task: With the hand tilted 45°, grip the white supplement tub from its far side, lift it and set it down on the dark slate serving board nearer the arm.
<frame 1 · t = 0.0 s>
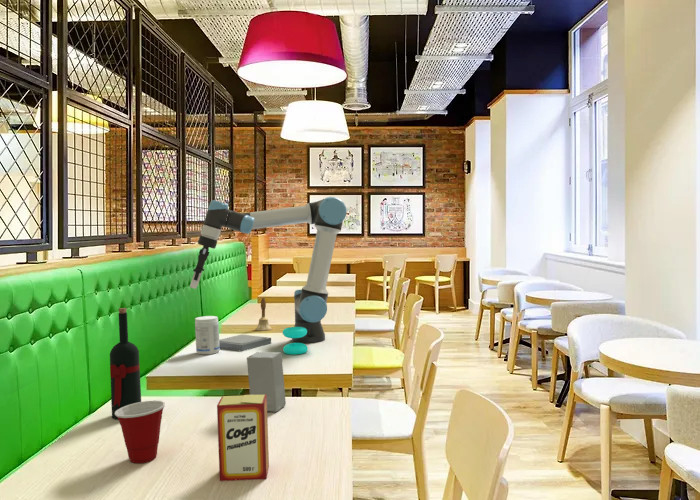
hand: (193, 286, 247), 28 cm above the table, tool tilted 20°, fingers open, 13 cm apart
slate board: (242, 345, 263), on the table
baking soda box: (245, 474, 126), on the table
donuts: (295, 353, 245), on the table
skincare box: (267, 409, 170), on the table
plastic cup: (142, 459, 135), on the table
supplement tub: (208, 353, 249), on the table
wine bottle: (125, 417, 166), on the table
hand bell: (263, 329, 303), on the table
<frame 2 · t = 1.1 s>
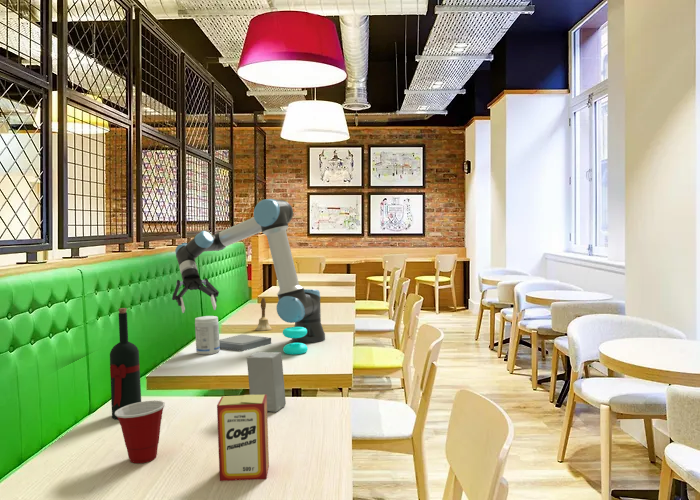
hand: (199, 309, 258), 17 cm above the table, tool tilted 45°, fingers open, 13 cm apart
nothing on the table moved.
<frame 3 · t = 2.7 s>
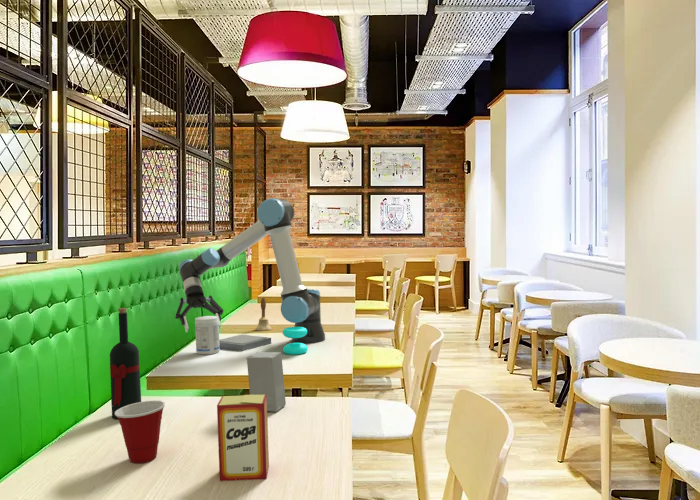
hand: (203, 328, 251), 10 cm above the table, tool tilted 45°, fingers open, 13 cm apart
nothing on the table moved.
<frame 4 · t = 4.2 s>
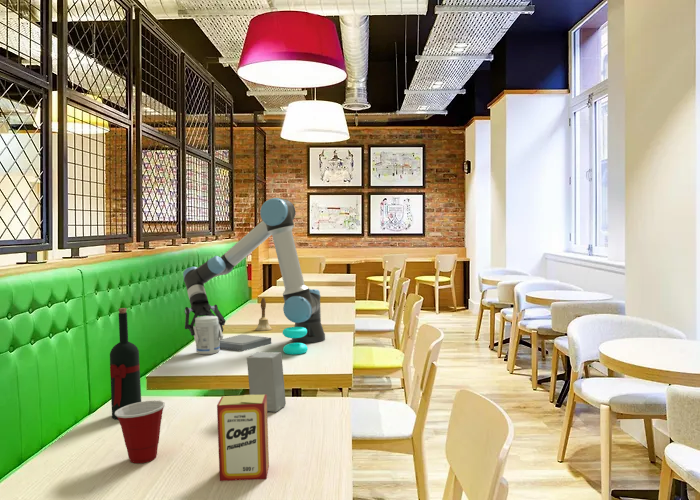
hand: (209, 339, 246), 6 cm above the table, tool tilted 45°, fingers closed on supplement tub, 9 cm apart
supplement tub: (208, 353, 249), on the table, touching gripper
everything else where it was.
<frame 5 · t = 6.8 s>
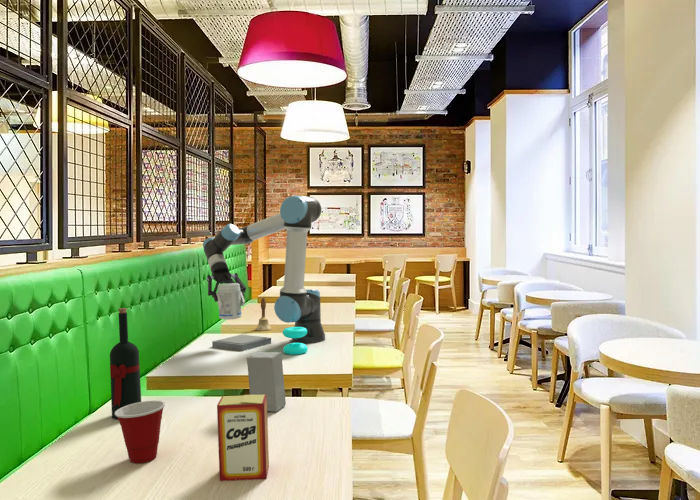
hand: (232, 305, 256), 19 cm above the table, tool tilted 45°, fingers closed on supplement tub, 9 cm apart
supplement tub: (230, 318, 259), point 12 cm above the table, touching gripper
everything else where it was.
when the fingers open (10 cm above the table, at t = 9.5 s): supplement tub drops 1 cm, resting on slate board.
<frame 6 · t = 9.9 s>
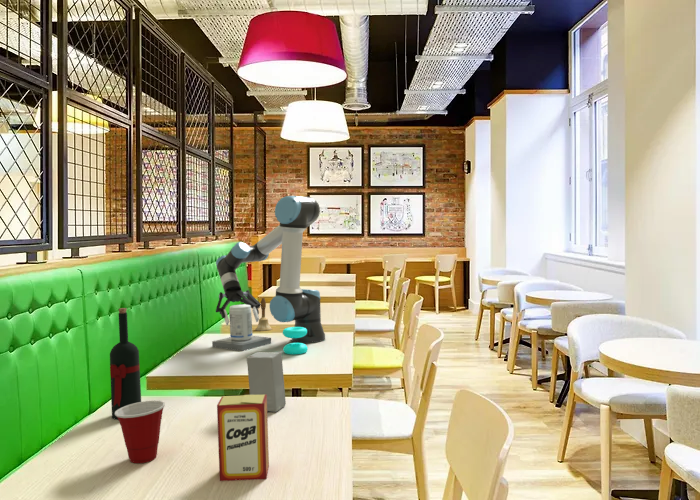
hand: (243, 321, 261), 11 cm above the table, tool tilted 45°, fingers open, 13 cm apart
supplement tub: (241, 339, 263), point 3 cm above the table, touching slate board
everything else where it was.
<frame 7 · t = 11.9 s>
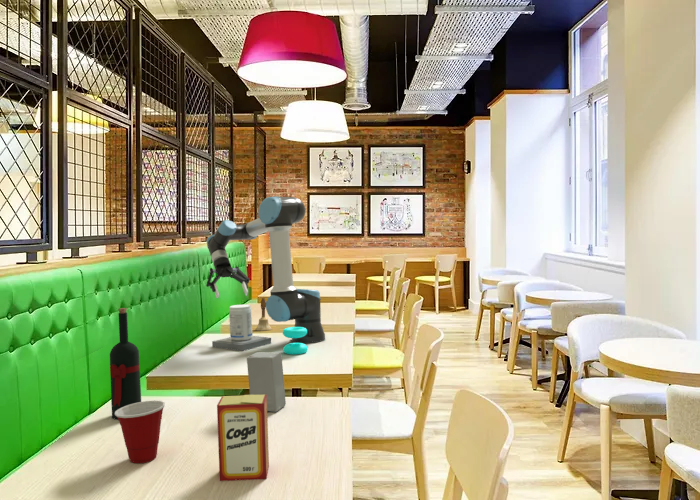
hand: (232, 295, 273), 21 cm above the table, tool tilted 45°, fingers open, 13 cm apart
nothing on the table moved.
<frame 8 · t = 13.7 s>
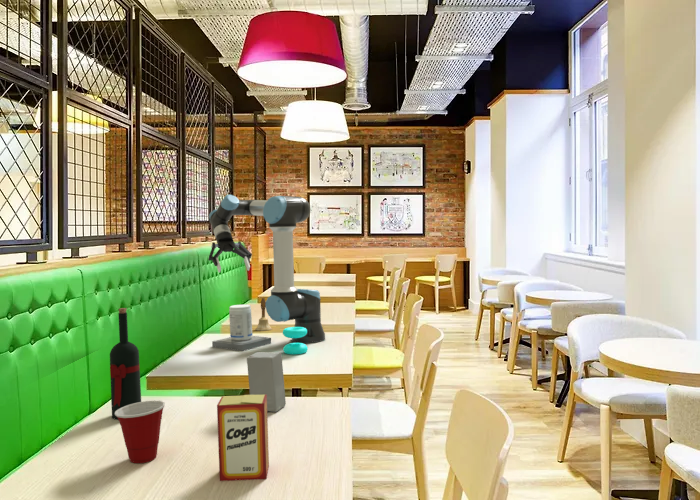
hand: (234, 269, 272), 33 cm above the table, tool tilted 45°, fingers open, 13 cm apart
nothing on the table moved.
at the end: supplement tub inside the target area on the slate board (0.2 cm from its centre), point 2.5 cm above the slate board's base; supplement tub tilted 0°; the gripper is holding nothing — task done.
